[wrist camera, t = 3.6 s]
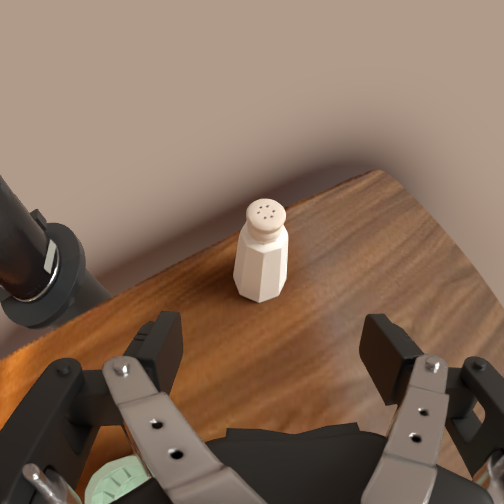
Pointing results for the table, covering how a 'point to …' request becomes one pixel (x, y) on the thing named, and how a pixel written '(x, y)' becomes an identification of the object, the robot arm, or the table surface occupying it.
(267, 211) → the pepper shaker
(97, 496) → the bowl
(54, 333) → the table surface
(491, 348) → the table surface
